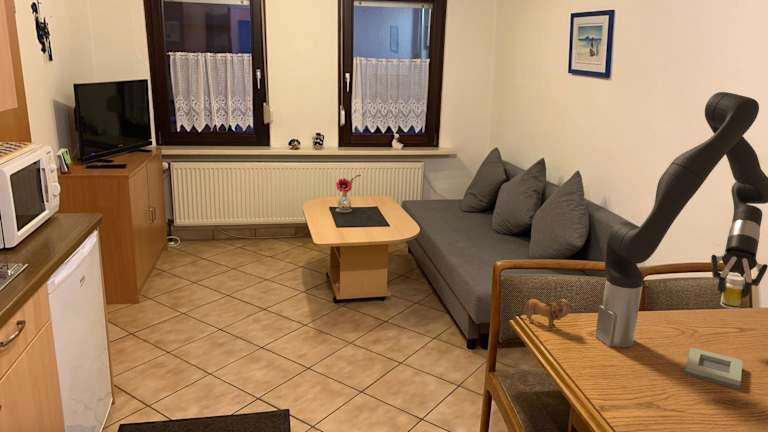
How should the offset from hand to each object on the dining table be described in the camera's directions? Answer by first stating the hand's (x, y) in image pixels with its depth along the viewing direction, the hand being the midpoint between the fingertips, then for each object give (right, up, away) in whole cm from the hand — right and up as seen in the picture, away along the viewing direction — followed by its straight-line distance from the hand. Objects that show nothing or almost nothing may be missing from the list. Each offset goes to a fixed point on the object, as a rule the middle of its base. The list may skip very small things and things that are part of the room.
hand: (732, 294), depth 164 cm
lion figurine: (-47, -11, +14) cm, 50 cm away
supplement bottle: (+1, -4, +3) cm, 5 cm away
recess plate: (-10, -18, -9) cm, 23 cm away
